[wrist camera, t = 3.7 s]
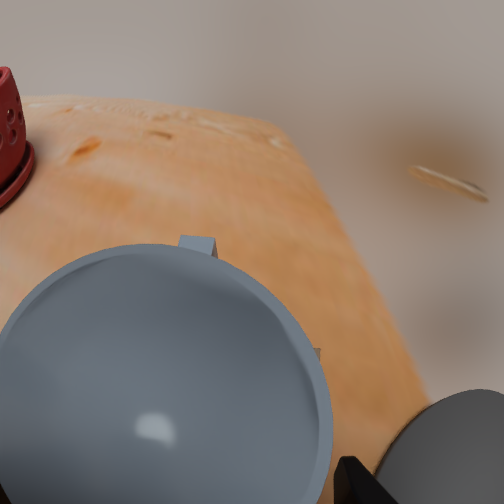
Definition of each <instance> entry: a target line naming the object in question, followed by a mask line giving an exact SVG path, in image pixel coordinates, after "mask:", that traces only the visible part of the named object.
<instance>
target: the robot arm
mask: <svg viewBox="0 0 504 504" xmlns="http://www.w3.org/2000/svg"><path fill="white" fill-rule="evenodd" d="M333 480H334V504H399V503H398V502H397V501H396V500H395V499H394V498H393V497H392V496H391V495H390V494H389V493H388V491H387V490H386V489H385V488H384V487H383V486H382V485H381V484H380V483H379V482H378V481H377V480H376V479H375V477H374V476H373V475H372V474H371V473H370V472H369V471H368V470H367V469H366V468H365V467H364V465H363V464H362V463H361V462H360V461H359V460H358V459H357V458H356V457H355V456H342V457H341V458H340V460H339V462H338V465H337V467H336V470H335V473H334V479H333ZM0 504H12V503H11V502H10V500H9V498H8V497H7V495H6V493H5V491H4V489H3V488H2V486H1V483H0Z"/></svg>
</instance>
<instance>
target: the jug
mask: <svg viewBox="0 0 504 504" xmlns="http://www.w3.org/2000/svg"><path fill="white" fill-rule="evenodd" d="M332 446H333V414H332V407H331V401H330V394H329V389H328V386H327V383H326V379H325V376H324V373H323V369H322V366H321V364H320V362H319V360H318V357H317V355H316V353H315V351H314V349H313V347H312V344H311V342H310V341H309V339H308V338H307V336H306V334H305V333H304V331H303V330H302V328H301V327H300V325H299V323H298V322H297V321H296V319H295V318H294V317H293V316H292V315H291V313H290V312H289V311H288V310H287V309H286V307H285V306H284V305H283V304H282V303H281V302H280V301H279V300H278V299H277V298H276V297H275V296H274V295H273V294H272V293H271V292H270V291H269V290H268V289H266V288H265V287H264V286H263V285H262V284H260V283H259V282H258V281H256V280H255V279H253V278H252V277H251V276H249V275H248V274H247V273H245V272H243V271H241V270H240V269H238V268H236V267H234V266H232V265H231V264H229V263H227V262H225V261H223V260H220V259H218V254H217V248H216V242H215V238H212V237H200V236H187V235H181V237H180V240H179V244H178V247H177V246H170V245H163V244H136V245H124V246H119V247H114V248H109V249H104V250H101V251H98V252H95V253H92V254H89V255H86V256H84V257H81V258H79V259H77V260H75V261H73V262H71V263H69V264H67V265H65V266H64V267H62V268H60V269H59V270H57V271H56V272H54V273H52V274H51V275H50V276H48V277H47V278H46V279H45V280H43V281H42V282H41V283H40V284H38V285H37V286H36V287H35V288H34V289H33V290H32V291H31V292H30V293H29V294H28V295H27V296H26V297H25V298H24V299H23V300H22V302H21V303H20V304H19V306H18V307H17V308H16V309H15V311H14V312H13V313H12V315H11V316H10V318H9V320H8V321H7V323H6V325H5V326H4V328H3V330H2V331H1V334H0V483H1V486H2V488H3V489H4V491H5V493H6V495H7V497H8V498H9V500H10V502H11V503H12V504H316V503H317V501H318V499H319V497H320V495H321V492H322V489H323V486H324V483H325V480H326V477H327V474H328V470H329V466H330V460H331V453H332Z"/></svg>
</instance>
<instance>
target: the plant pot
mask: <svg viewBox="0 0 504 504" xmlns="http://www.w3.org/2000/svg"><path fill="white" fill-rule="evenodd" d="M8 110H9V113H8ZM33 162H34V148H33V146H32V144H31V143H30V142H28V141H26V126H25V120H24V116H23V111H22V105H21V100H20V96H19V92H18V89H17V86H16V83H15V80H14V78H13V75H12V73H11V70H10V68H8V67H0V208H1V207H2V206H3V205H5V204H6V203H7V202H8V201H9V200H10V199H11V198H12V197H13V196H14V195H15V194H16V193H17V192H18V191H19V189H20V188H21V187H22V185H23V184H24V182H25V181H26V179H27V177H28V176H29V173H30V171H31V169H32V166H33Z"/></svg>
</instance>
